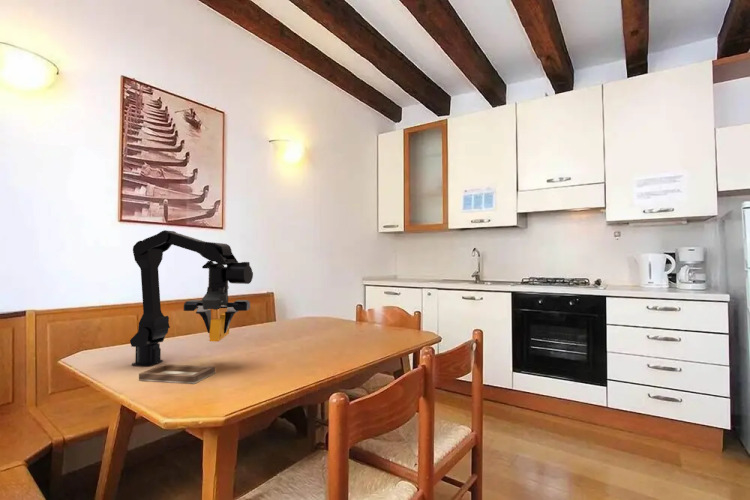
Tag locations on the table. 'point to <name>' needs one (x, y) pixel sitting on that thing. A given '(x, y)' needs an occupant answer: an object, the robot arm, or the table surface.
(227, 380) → the table surface
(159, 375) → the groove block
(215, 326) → the pipe clamp
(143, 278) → the robot arm
